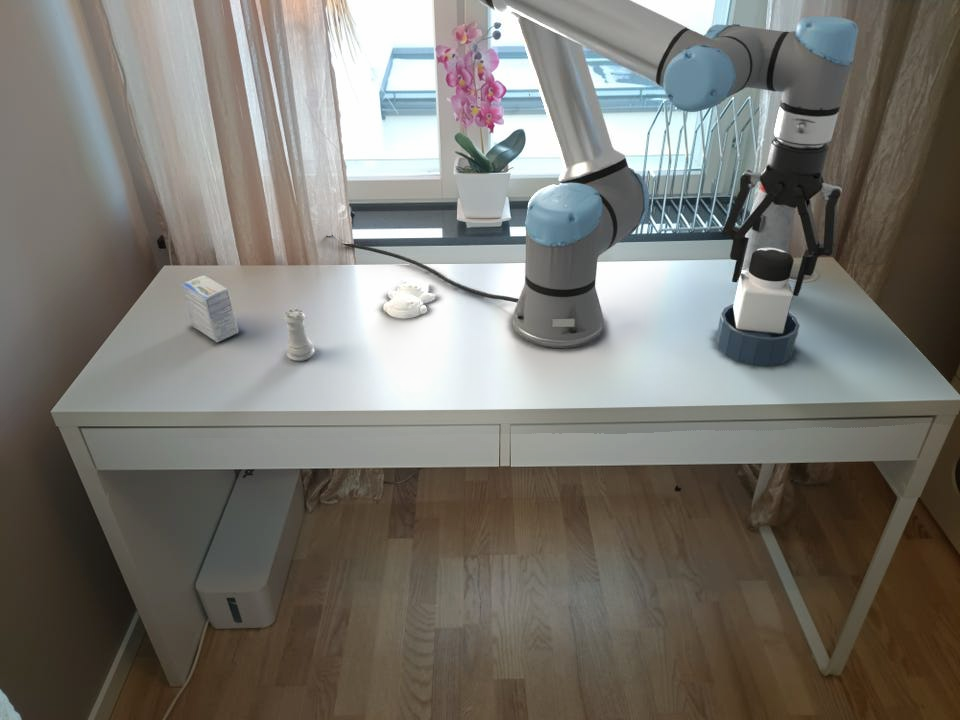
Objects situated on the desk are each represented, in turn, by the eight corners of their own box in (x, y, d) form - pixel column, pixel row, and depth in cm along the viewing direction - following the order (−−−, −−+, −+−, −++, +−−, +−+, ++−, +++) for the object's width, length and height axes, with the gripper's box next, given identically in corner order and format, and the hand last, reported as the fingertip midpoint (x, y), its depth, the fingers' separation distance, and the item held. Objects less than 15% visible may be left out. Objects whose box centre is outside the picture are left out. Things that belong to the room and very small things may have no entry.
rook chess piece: (291, 365, 118) (283, 322, 113) (283, 351, 121) (275, 309, 117) (318, 357, 120) (311, 314, 115) (310, 344, 123) (303, 302, 118)
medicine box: (239, 333, 126) (229, 288, 121) (216, 344, 123) (204, 298, 119) (215, 317, 131) (204, 273, 126) (192, 327, 128) (180, 282, 123)
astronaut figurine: (442, 291, 139) (441, 276, 137) (420, 322, 129) (419, 307, 128) (398, 285, 141) (397, 271, 139) (374, 316, 131) (372, 301, 130)
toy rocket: (724, 285, 139) (750, 154, 125) (752, 273, 143) (780, 144, 129) (759, 301, 134) (790, 166, 120) (786, 288, 138) (819, 156, 124)
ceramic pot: (708, 354, 119) (713, 327, 117) (725, 321, 128) (731, 295, 125) (784, 373, 115) (791, 346, 112) (797, 338, 123) (804, 311, 120)
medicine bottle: (783, 335, 115) (802, 265, 109) (735, 330, 117) (751, 261, 110) (777, 312, 121) (795, 245, 115) (732, 308, 122) (747, 241, 116)
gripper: (717, 136, 104) (691, 279, 117) (882, 160, 96) (835, 312, 108) (730, 122, 110) (704, 260, 122) (887, 144, 101) (842, 290, 114)
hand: (765, 285), depth 115 cm, fingers closed on medicine bottle, 8 cm apart
